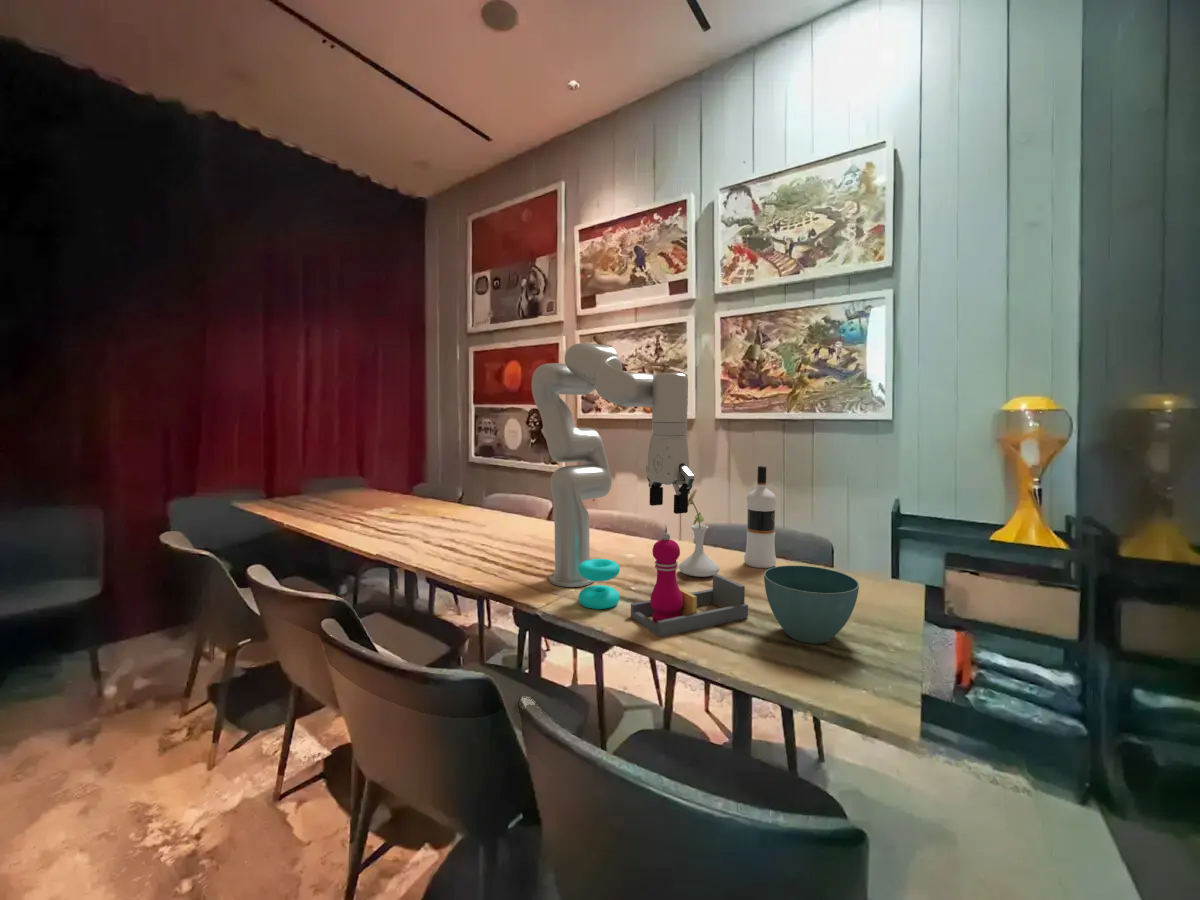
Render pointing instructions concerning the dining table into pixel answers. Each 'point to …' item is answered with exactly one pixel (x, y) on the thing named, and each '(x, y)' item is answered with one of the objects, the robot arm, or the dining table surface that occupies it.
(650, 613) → the lane
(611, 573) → the donuts
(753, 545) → the vodka
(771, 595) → the teal bowl
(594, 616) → the dining table surface
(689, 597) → the pusher plate
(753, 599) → the dining table surface
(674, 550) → the pepper mill
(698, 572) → the flower in vase
